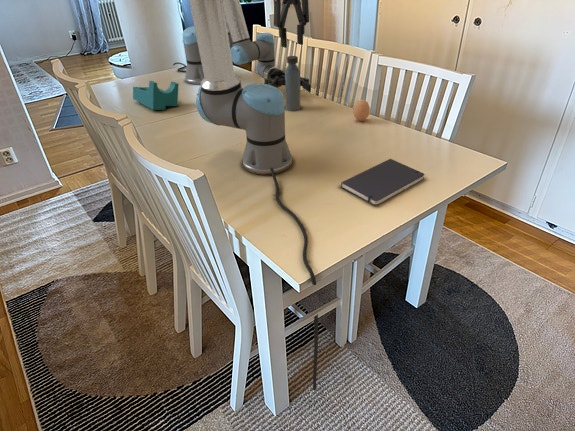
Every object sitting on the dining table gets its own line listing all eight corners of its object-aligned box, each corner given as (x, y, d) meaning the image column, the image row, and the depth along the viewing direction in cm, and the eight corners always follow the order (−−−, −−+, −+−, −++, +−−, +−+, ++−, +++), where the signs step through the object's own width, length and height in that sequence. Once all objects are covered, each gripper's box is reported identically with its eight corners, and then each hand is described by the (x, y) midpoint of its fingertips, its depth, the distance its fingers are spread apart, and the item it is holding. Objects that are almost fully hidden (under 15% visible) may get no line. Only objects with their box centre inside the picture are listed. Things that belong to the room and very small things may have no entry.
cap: (289, 60, 155) (288, 55, 154) (299, 61, 154) (299, 56, 153) (285, 63, 152) (285, 58, 151) (295, 64, 151) (295, 58, 150)
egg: (358, 124, 148) (359, 103, 143) (349, 119, 153) (351, 98, 148) (372, 121, 150) (374, 100, 145) (363, 116, 154) (364, 95, 150)
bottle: (288, 104, 167) (287, 55, 155) (302, 106, 165) (302, 56, 154) (283, 109, 162) (282, 59, 151) (297, 111, 161) (297, 60, 149)
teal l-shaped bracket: (177, 109, 169) (178, 83, 164) (152, 109, 162) (153, 82, 157) (156, 99, 180) (157, 74, 175) (133, 98, 172) (133, 73, 168)
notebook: (389, 163, 124) (340, 187, 113) (390, 158, 123) (341, 182, 112) (424, 178, 116) (375, 206, 105) (425, 174, 115) (376, 201, 104)
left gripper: (300, 81, 182) (322, 95, 166) (248, 89, 174) (265, 105, 158) (300, 63, 178) (322, 77, 162) (246, 71, 170) (264, 86, 154)
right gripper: (271, -24, 129) (274, 51, 143) (320, -29, 138) (319, 43, 151) (260, -26, 135) (264, 47, 148) (308, -30, 143) (307, 39, 156)
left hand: (294, 91), depth 160 cm, fingers open, 13 cm apart
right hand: (292, 45), depth 150 cm, fingers open, 6 cm apart
